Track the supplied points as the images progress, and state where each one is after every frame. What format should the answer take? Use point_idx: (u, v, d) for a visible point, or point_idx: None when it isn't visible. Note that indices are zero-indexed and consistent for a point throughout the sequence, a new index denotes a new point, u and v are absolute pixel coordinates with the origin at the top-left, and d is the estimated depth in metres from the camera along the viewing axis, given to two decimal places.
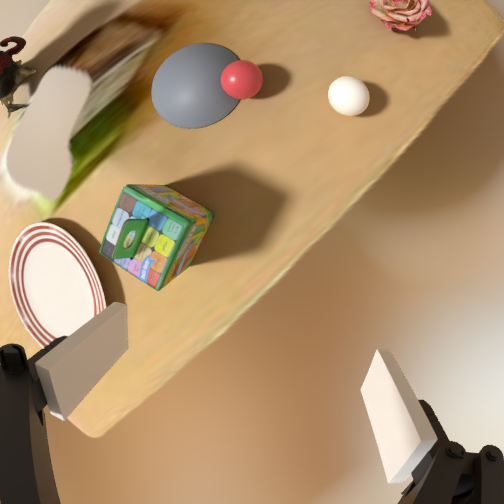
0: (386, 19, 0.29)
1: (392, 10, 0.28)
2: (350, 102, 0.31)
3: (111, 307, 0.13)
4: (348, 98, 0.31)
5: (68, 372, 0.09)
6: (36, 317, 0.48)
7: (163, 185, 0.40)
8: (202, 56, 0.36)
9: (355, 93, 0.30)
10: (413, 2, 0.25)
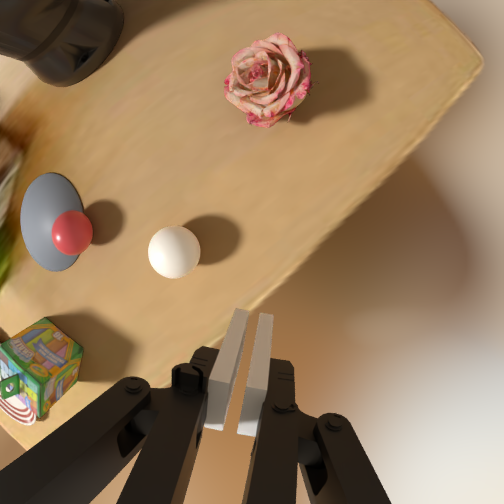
0: (243, 109, 0.26)
1: None
2: (164, 272, 0.28)
3: (237, 314, 0.15)
4: (160, 268, 0.28)
5: (231, 382, 0.11)
6: None
7: (43, 319, 0.37)
8: (50, 191, 0.33)
9: (167, 262, 0.28)
10: None
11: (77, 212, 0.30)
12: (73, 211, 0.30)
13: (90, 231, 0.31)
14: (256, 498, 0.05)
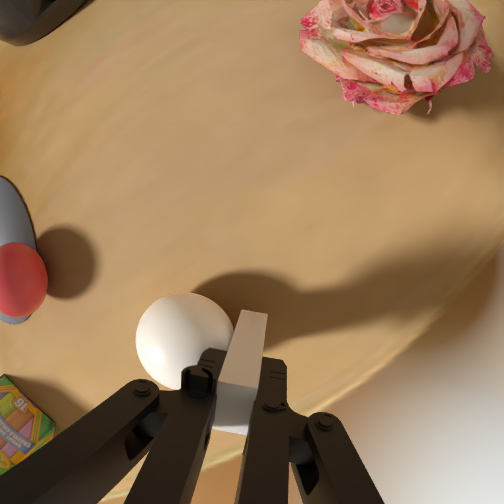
0: (342, 73, 0.12)
1: (364, 43, 0.10)
2: (167, 386, 0.14)
3: (243, 315, 0.15)
4: (159, 379, 0.13)
5: None
6: None
7: (1, 378, 0.22)
8: None
9: (171, 375, 0.13)
10: (433, 18, 0.08)
11: (20, 247, 0.15)
12: (14, 245, 0.15)
13: (41, 281, 0.16)
14: (248, 497, 0.05)
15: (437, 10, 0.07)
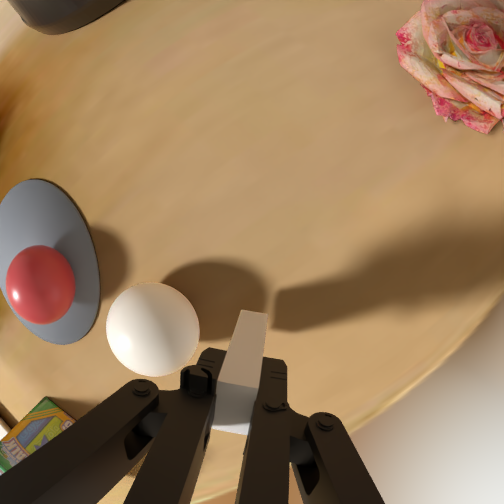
0: (439, 91, 0.12)
1: None
2: None
3: (243, 315, 0.15)
4: None
5: None
6: None
7: (43, 401, 0.22)
8: (34, 211, 0.18)
9: None
10: None
11: (31, 251, 0.15)
12: (33, 248, 0.15)
13: (26, 294, 0.14)
14: (249, 497, 0.05)
15: None
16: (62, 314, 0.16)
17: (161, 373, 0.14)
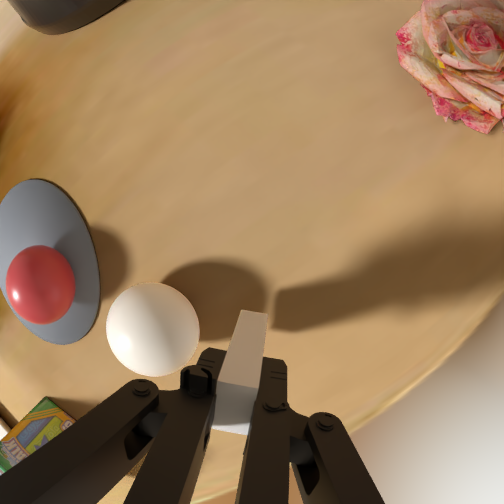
0: (439, 91, 0.12)
1: None
2: None
3: (243, 315, 0.15)
4: None
5: None
6: None
7: (43, 401, 0.22)
8: (34, 211, 0.18)
9: None
10: None
11: (31, 251, 0.15)
12: (33, 248, 0.15)
13: (26, 294, 0.14)
14: (249, 497, 0.05)
15: None
16: (62, 314, 0.16)
17: (161, 373, 0.14)
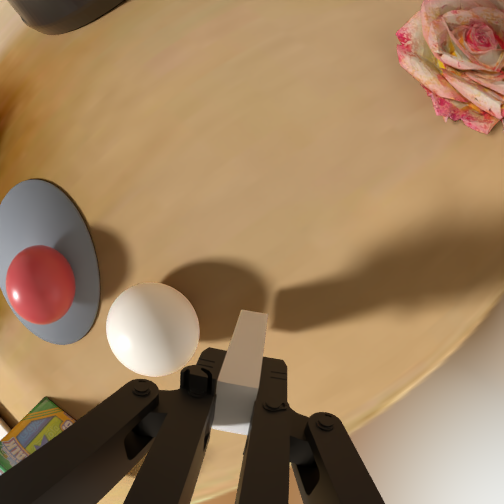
0: (439, 91, 0.12)
1: None
2: None
3: (243, 315, 0.15)
4: None
5: None
6: None
7: (43, 401, 0.22)
8: (34, 211, 0.18)
9: None
10: None
11: (31, 251, 0.15)
12: (33, 248, 0.15)
13: (26, 294, 0.14)
14: (249, 497, 0.05)
15: None
16: (62, 314, 0.16)
17: (161, 373, 0.14)
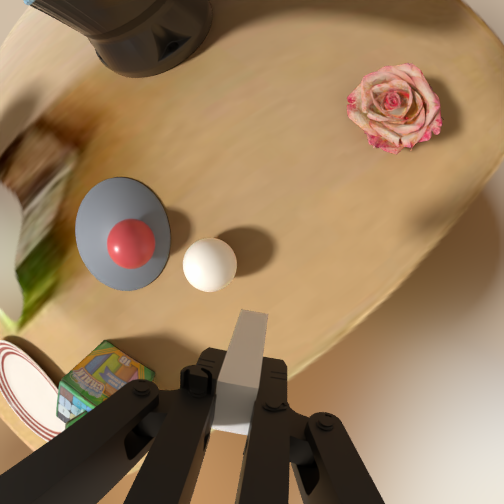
0: (369, 132, 0.26)
1: None
2: None
3: (243, 315, 0.15)
4: None
5: None
6: (21, 405, 0.44)
7: (103, 343, 0.36)
8: (121, 198, 0.32)
9: None
10: (415, 104, 0.21)
11: (130, 221, 0.29)
12: (129, 219, 0.29)
13: (129, 245, 0.28)
14: (249, 497, 0.05)
15: (417, 102, 0.21)
16: (147, 261, 0.30)
17: (216, 286, 0.28)
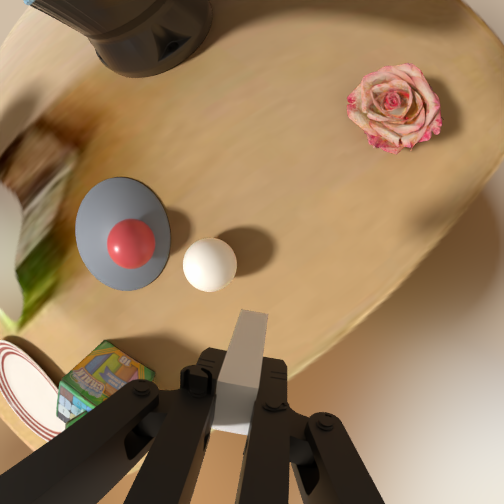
0: (369, 132, 0.26)
1: None
2: None
3: (243, 315, 0.15)
4: None
5: None
6: (21, 405, 0.44)
7: (103, 343, 0.36)
8: (121, 198, 0.32)
9: None
10: (415, 104, 0.21)
11: (130, 221, 0.29)
12: (129, 219, 0.29)
13: (129, 245, 0.28)
14: (249, 497, 0.05)
15: (417, 102, 0.21)
16: (147, 261, 0.30)
17: (216, 286, 0.28)
